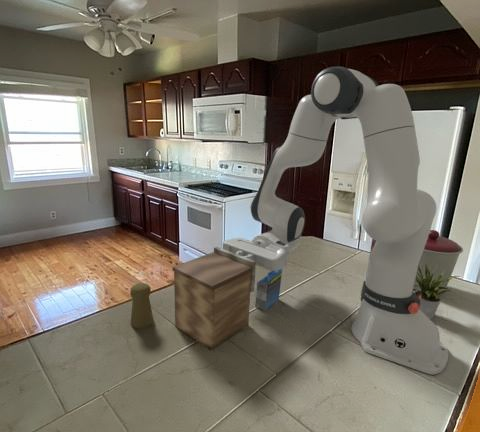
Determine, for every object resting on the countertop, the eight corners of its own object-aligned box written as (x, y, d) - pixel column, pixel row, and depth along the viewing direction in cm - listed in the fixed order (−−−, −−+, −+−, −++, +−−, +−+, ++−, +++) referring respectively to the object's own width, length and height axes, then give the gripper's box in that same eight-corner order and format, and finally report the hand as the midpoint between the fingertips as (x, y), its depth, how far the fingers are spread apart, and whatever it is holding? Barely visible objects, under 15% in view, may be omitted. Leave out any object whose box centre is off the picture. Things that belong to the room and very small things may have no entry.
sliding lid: (254, 290, 84) (255, 261, 82) (211, 314, 72) (212, 281, 70) (216, 273, 93) (216, 246, 91) (173, 292, 81) (172, 262, 79)
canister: (432, 304, 100) (446, 242, 94) (383, 280, 115) (393, 226, 109) (463, 292, 108) (477, 235, 103) (413, 271, 123) (424, 220, 118)
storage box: (248, 325, 86) (251, 271, 81) (211, 350, 75) (212, 290, 71) (212, 305, 94) (213, 256, 90) (175, 326, 84) (174, 271, 80)
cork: (125, 324, 84) (122, 287, 81) (142, 313, 89) (140, 278, 86) (142, 331, 82) (140, 293, 79) (158, 319, 87) (156, 283, 84)
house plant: (382, 305, 98) (391, 256, 94) (412, 296, 104) (421, 251, 100) (425, 331, 86) (437, 277, 82) (456, 320, 92) (469, 269, 87)
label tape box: (268, 295, 102) (271, 260, 98) (280, 299, 99) (282, 263, 96) (254, 307, 95) (256, 270, 91) (266, 311, 92) (268, 273, 89)
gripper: (240, 230, 103) (209, 240, 92) (294, 246, 90) (265, 260, 80) (239, 248, 104) (209, 260, 94) (292, 267, 91) (263, 283, 81)
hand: (235, 260), depth 87 cm, fingers closed
